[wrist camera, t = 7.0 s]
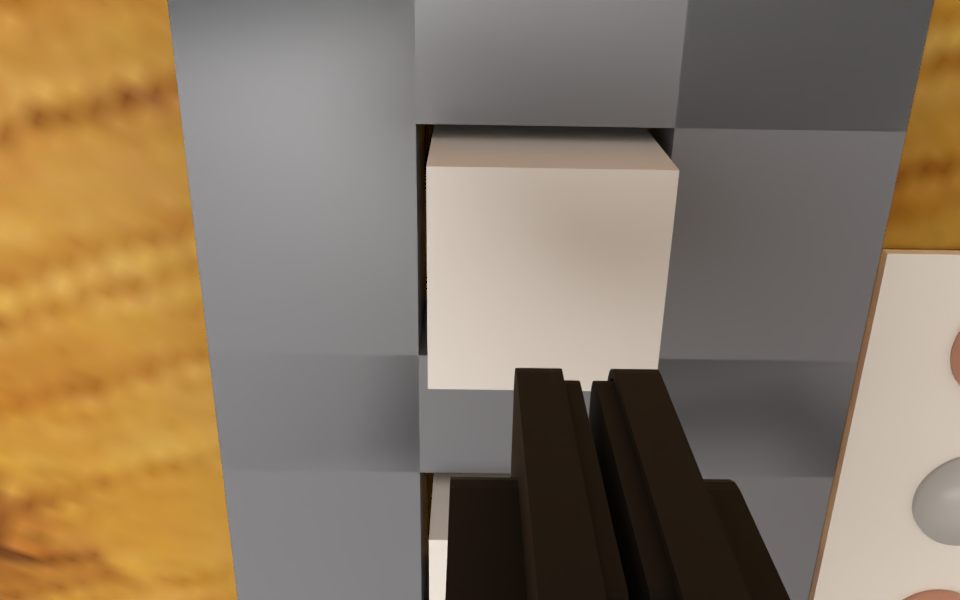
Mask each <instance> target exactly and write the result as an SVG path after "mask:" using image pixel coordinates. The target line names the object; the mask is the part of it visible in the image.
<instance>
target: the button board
mask: <svg viewBox="0 0 960 600" xmlns="http://www.w3.org/2000/svg"><path fill="white" fill-rule="evenodd" d="M167 1H168V10H169V18H170V27H171V35H172V44H173V52H174V61H175V69H176V78H177V86H178V95H179V103H180V112H181V121H182V129H183V138H184V146H185V155H186V163H187V172H188V180H189V189H190V197H191V206H192V214H193V223H194V231H195V240H196V248H197V257H198V265H199V274H200V283H201V291H202V300H203V308H204V317H205V325H206V334H207V342H208V351H209V359H210V368H211V376H212V385H213V393H214V402H215V410H216V419H217V427H218V436H219V445H220V453H221V462H222V470H223V479H224V487H225V496H226V504H227V513H228V521H229V530H230V538H231V547H232V555H233V564H234V572H235V581H236V589H237V598H238V600H429V560H428V519H427V473H505V474H511V452H512V425H513V397H514V390H467V389H428V351H427V300H426V260H425V131H424V124H457V125H518V126H579V127H640V128H646V129H647V130H648V131H649V133H650V134H651V135H652V137H653V138H654V139H655V140H656V142H657V143H658V144H659V145H660V147H661V148H662V149H663V150H664V152H665V153H666V154H667V155H668V157H669V158H670V159H671V160H672V162H673V163H674V164H675V165H676V167H677V168H678V169H679V179H678V188H677V197H676V206H675V215H674V225H673V234H672V243H671V252H670V261H669V270H668V279H667V288H666V297H665V307H664V316H663V325H662V334H661V343H660V352H659V361H658V370H659V372H660V373H661V376H662V378H663V381H664V383H665V386H666V388H667V391H668V393H669V396H670V398H671V401H672V403H673V406H674V408H675V410H676V413H677V415H678V418H679V420H680V423H681V425H682V428H683V430H684V433H685V435H686V438H687V440H688V443H689V445H690V448H691V450H692V453H693V455H694V458H695V460H696V463H697V465H698V468H699V470H700V472H701V475H702V477H703V479H730V480H732V481H734V482H735V483H736V484H737V486H738V488H739V489H740V491H741V493H742V495H743V497H744V500H745V502H746V504H747V506H748V508H749V511H750V513H751V515H752V517H753V519H754V521H755V524H756V526H757V528H758V530H759V532H760V534H761V537H762V539H763V541H764V543H765V545H766V548H767V550H768V552H769V554H770V556H771V558H772V561H773V563H774V565H775V567H776V569H777V572H778V574H779V576H780V578H781V580H782V582H783V585H784V587H785V589H786V591H787V593H788V596H789V598H790V600H808V597H809V592H810V587H811V582H812V578H813V573H814V568H815V563H816V559H817V554H818V549H819V544H820V540H821V535H822V530H823V526H824V521H825V516H826V511H827V507H828V502H829V497H830V492H831V488H832V483H833V478H834V473H835V469H836V464H837V459H838V454H839V450H840V445H841V440H842V435H843V431H844V426H845V421H846V416H847V412H848V407H849V402H850V397H851V393H852V388H853V383H854V378H855V374H856V369H857V364H858V359H859V355H860V350H861V345H862V340H863V336H864V331H865V326H866V321H867V317H868V312H869V307H870V303H871V298H872V293H873V288H874V284H875V279H876V274H877V269H878V265H879V260H880V255H881V250H882V246H883V241H884V236H885V231H886V227H887V222H888V217H889V212H890V208H891V203H892V198H893V193H894V189H895V184H896V179H897V174H898V170H899V165H900V160H901V155H902V151H903V146H904V141H905V136H906V132H907V127H908V122H909V117H910V113H911V108H912V103H913V98H914V94H915V89H916V84H917V79H918V75H919V70H920V65H921V61H922V56H923V51H924V46H925V42H926V37H927V32H928V27H929V23H930V18H931V13H932V8H933V4H934V0H167ZM582 392H583V396H584V401H585V405H586V409H587V414H588V418H589V407H590V394H591V391H582Z"/></svg>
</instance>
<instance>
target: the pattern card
mask: <svg viewBox="0 0 960 600" xmlns="http://www.w3.org/2000/svg"><path fill="white" fill-rule="evenodd" d="M809 600H960V250H902V249H882V254H881V259H880V263H879V268H878V273H877V278H876V282H875V287H874V292H873V296H872V301H871V306H870V311H869V315H868V320H867V325H866V330H865V334H864V339H863V344H862V349H861V353H860V358H859V363H858V368H857V372H856V377H855V382H854V386H853V391H852V396H851V401H850V405H849V410H848V415H847V420H846V424H845V429H844V434H843V439H842V443H841V448H840V453H839V458H838V462H837V467H836V472H835V476H834V481H833V486H832V491H831V495H830V500H829V505H828V510H827V514H826V519H825V524H824V529H823V533H822V538H821V543H820V548H819V552H818V557H817V562H816V566H815V571H814V576H813V581H812V585H811V590H810V595H809Z"/></svg>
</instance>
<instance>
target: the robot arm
mask: <svg viewBox="0 0 960 600" xmlns="http://www.w3.org/2000/svg"><path fill="white" fill-rule="evenodd" d="M445 600H790V598H789V596H788V593H787V591H786V589H785V587H784V585H783V582H782V580H781V578H780V576H779V574H778V572H777V569H776V567H775V565H774V563H773V561H772V558H771V556H770V554H769V552H768V550H767V548H766V545H765V543H764V541H763V539H762V537H761V534H760V532H759V530H758V528H757V526H756V524H755V521H754V519H753V517H752V515H751V513H750V511H749V508H748V506H747V504H746V502H745V500H744V497H743V495H742V493H741V491H740V489H739V488H738V486H737V484H736V483H735V482H734V481H732V480H730V479H703V477H702V475H701V472H700V470H699V468H698V465H697V463H696V460H695V458H694V455H693V453H692V450H691V448H690V445H689V443H688V440H687V438H686V435H685V433H684V430H683V428H682V425H681V423H680V420H679V418H678V415H677V413H676V410H675V408H674V406H673V403H672V401H671V398H670V396H669V393H668V391H667V388H666V386H665V383H664V381H663V378H662V376H661V373H660V372H659V370H658V369H611V370H610V372H609V375H608V381H593V382H592V386H591V394H590V407H589V418H588V414H587V409H586V405H585V401H584V396H583V392H582V387H581V383H580V381H579V380H564V376H563V372H562V369H561V368H515V375H514V397H513V425H512V452H511V477H450V493H449V519H448V545H447V570H446V596H445Z"/></svg>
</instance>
